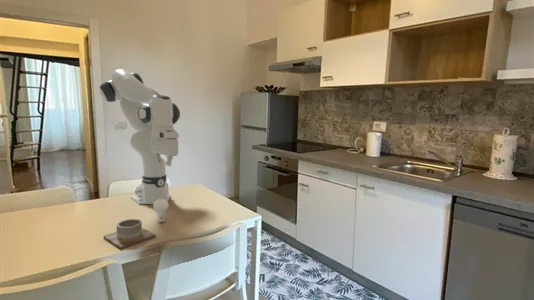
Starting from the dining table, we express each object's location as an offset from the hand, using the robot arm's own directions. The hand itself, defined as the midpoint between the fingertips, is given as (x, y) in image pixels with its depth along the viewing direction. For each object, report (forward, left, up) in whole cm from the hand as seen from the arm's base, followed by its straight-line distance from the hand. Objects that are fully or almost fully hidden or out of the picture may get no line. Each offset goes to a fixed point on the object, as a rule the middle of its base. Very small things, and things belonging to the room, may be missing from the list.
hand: (163, 164), depth 133 cm
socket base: (+5, -19, -27) cm, 33 cm away
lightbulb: (0, -2, -27) cm, 27 cm away
